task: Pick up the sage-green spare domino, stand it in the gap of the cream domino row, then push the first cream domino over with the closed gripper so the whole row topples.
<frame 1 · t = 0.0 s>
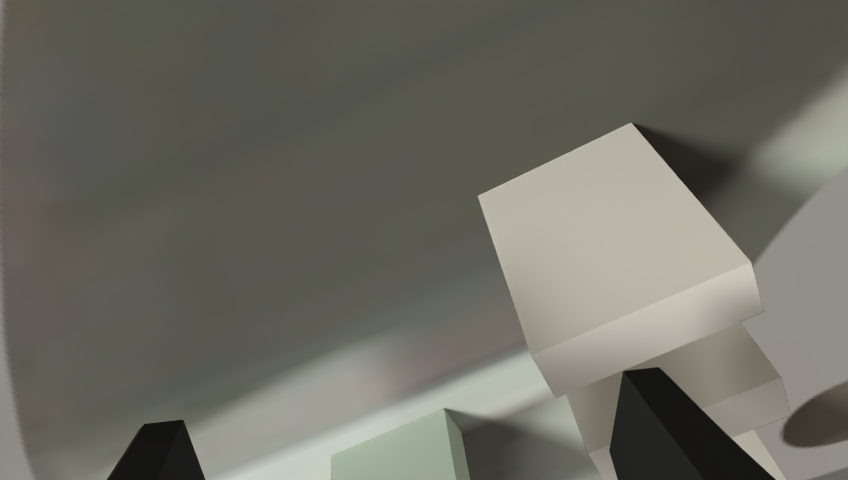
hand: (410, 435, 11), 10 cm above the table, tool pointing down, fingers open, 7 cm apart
domino 5: (561, 180, 21), on the table
spare domino: (396, 443, 27), on the table
domino 2: (660, 406, 27), on the table
domino 4: (601, 270, 23), on the table
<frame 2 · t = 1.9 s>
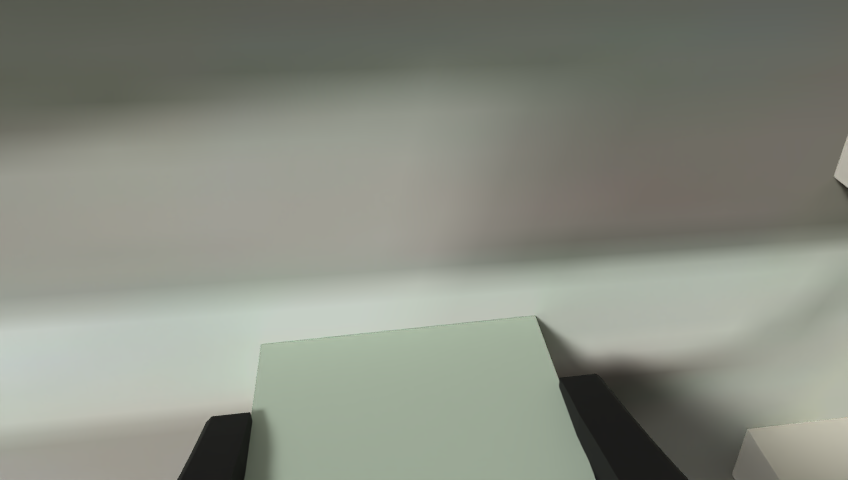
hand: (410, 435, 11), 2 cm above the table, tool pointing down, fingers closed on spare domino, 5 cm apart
spare domino: (402, 361, 13), on the table, touching gripper
domino 2: (843, 439, 16), on the table
when the fingers open (3 cm above the table, at t = 5.9 s): spare domino drops 1 cm, on the table.
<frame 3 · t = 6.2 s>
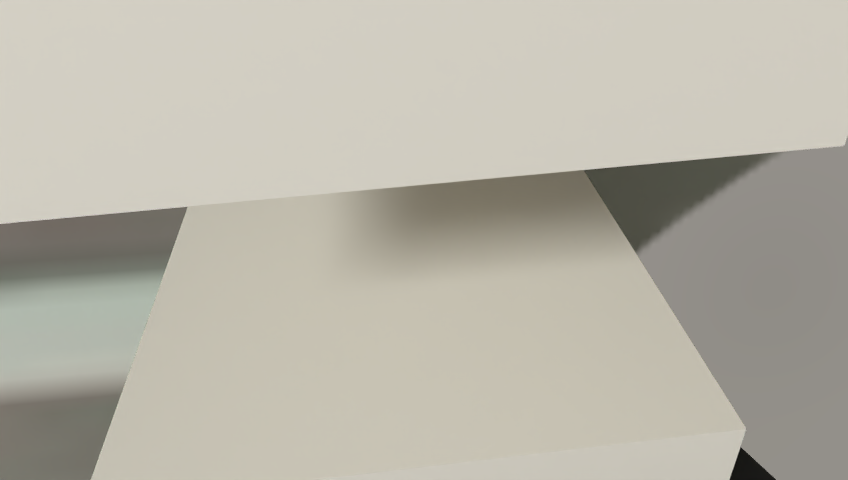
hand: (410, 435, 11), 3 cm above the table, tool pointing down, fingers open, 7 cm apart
domino 4: (382, 146, 11), on the table
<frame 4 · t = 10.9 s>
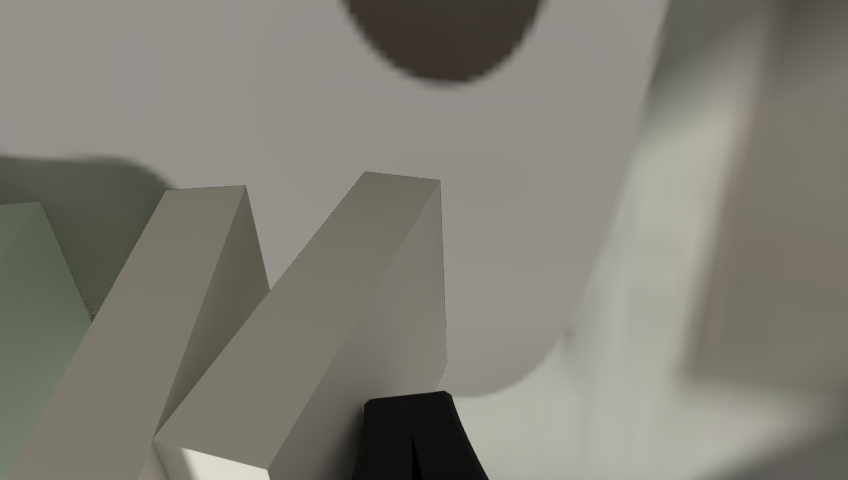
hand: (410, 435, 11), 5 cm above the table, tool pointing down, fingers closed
spare domino: (44, 302, 15), on the table
domino 1: (409, 274, 15), on the table, tilted 24°
domino 2: (232, 285, 15), on the table
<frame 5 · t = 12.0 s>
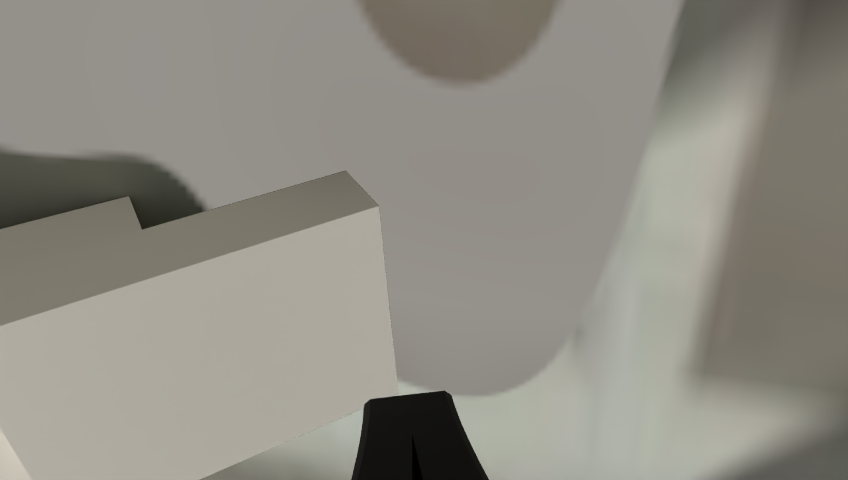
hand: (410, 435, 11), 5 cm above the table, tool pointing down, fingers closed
domino 1: (373, 288, 14), point 1 cm above the table, tilted 68°, touching domino 2
domino 2: (167, 313, 14), point 1 cm above the table, tilted 67°, touching domino 1, spare domino
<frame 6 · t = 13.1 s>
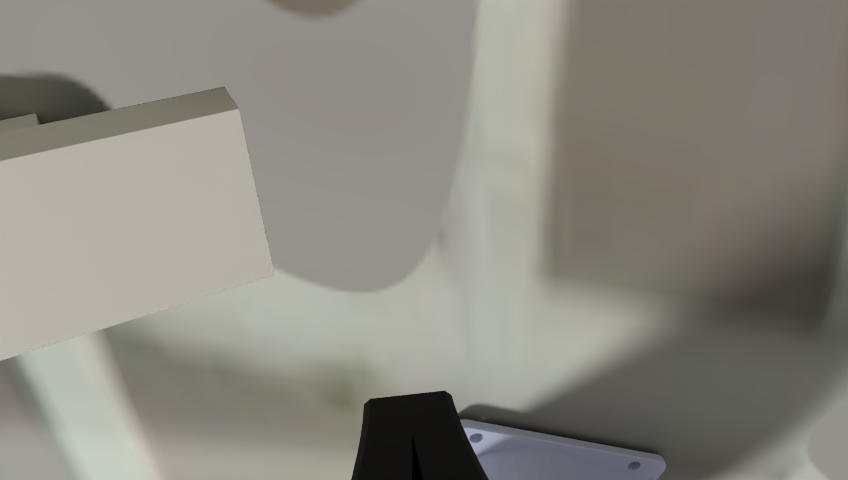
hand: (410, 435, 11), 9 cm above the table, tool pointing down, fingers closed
domino 1: (250, 185, 18), point 1 cm above the table, tilted 70°, touching domino 2
domino 2: (71, 210, 18), point 1 cm above the table, tilted 67°, touching domino 1
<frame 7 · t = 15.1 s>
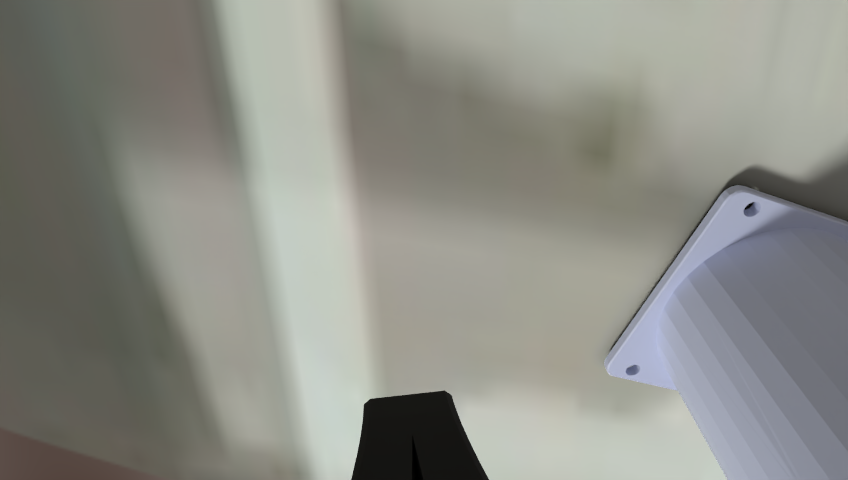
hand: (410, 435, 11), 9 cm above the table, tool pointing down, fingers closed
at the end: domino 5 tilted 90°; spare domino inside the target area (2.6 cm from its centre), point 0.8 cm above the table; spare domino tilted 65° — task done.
